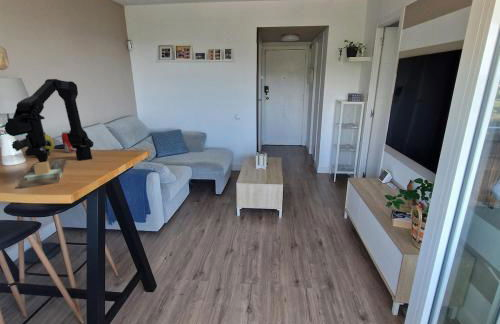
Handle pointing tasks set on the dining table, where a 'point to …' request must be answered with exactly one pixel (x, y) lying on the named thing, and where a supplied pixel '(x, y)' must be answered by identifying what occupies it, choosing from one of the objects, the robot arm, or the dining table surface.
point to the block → (42, 168)
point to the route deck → (46, 178)
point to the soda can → (67, 143)
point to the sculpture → (48, 146)
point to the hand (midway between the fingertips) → (44, 166)
